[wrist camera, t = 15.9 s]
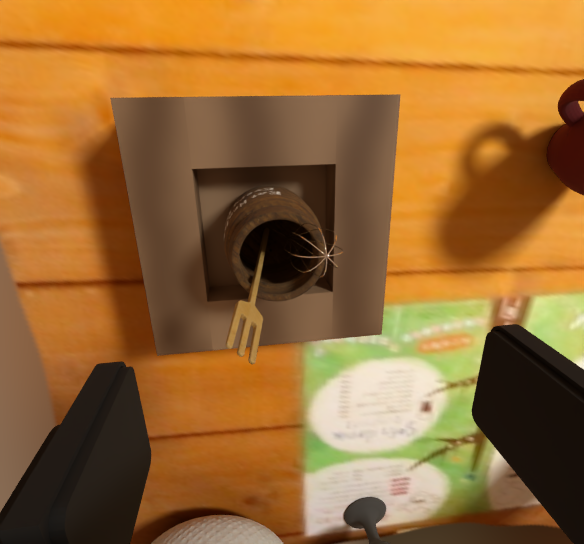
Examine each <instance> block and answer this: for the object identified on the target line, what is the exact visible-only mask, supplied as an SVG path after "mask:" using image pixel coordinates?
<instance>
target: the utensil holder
mask: <svg viewBox="0 0 584 544" xmlns="http://www.w3.org/2000/svg"><path fill="white" fill-rule="evenodd" d="M322 229H326V228H321V226H320V223H319V221H318V219H317V217H316V216H315V214H314V213H313V211H312V210H311V209H310V207H309V206H308V205H307V204H306V203H305V202H304V201H303V200H302V199H301V198H300V197H299V196H298V195H296V194H295V193H294V192H292V191H290V190H288V189H286V188H284V187H280V186H275V185H263V186H258V187H254V188H252V189H250V190H248V191H246V192H245V193H243V194H242V195H241V196H240V197H238V198H237V200H236V201H235V202H234V203H233V205H232V206H231V208H230V210H229V212H228V215H227V218H226V222H225V229H224V250H225V255H226V258H227V261H228V263H229V265H230V267H231V269H232V272H233V274H234V276H235V278H236V279H237V281H238V282H239V284H240V285H241V286H242V287H243V288H244V289H245V290H246V291H247V292H249V293H250V294H249V298H248V302H246V301H242V300H240V301H238V302H237V303H236V304H235V308H234V312H233V316H232V320H231V324H230V328H229V332H228V336H227V340H226V347H227V348H228V349H231V348H232V347H233V343H234V340H235V336H236V332H237V328H238V325H239V321H240V318H241V319H242V320H243V326H242V331H241V336H240V341H239V346H238V351H237V354H238V355H239V356H240V357H242V356H244V353H245V348H246V344H247V339H248V335H249V330H250V326H252V327H253V335H252V341H251V347H250V354H249V363H251V364H254V363H255V361H256V356H257V350H258V345H259V339H260V334H261V328H262V323H263V317H262V315H261V314H260V312H259V311H258V310H257V308H256V306H255V301H256V297H257V298H260V299H263V300H267V301H286V300H291V299H294V298H296V297H298V296H300V295H302V294H304V293H305V292H307V291H308V290H309V289H310V288H311V287H312V286H313V285H314V284H315V283H316V282H317V280H318V279H319V277H323V276H324V274H325V272H326V268H327V264H329V263H328V262H327V258H328V259H329V260H330V261H332V260H331V259H330V258H329V256H335V255H339V254H341V253H343V249H341V248H339V247H337V246H335V243H336V239H337V235H336V233H335V232H334V231H331V230H329V229H326V230H329V231H331V232H333V233H335V235H336V239H335V243H334V245H332V244H329V243H325V239H324V236H323V234H322ZM326 244H329V245H332V246H333V247H334V246H335V247H337V248H339V249H341V250H342V252H341V253H338V254H334V255H329V253H330V252H331V250H332V249H333V247H332V248H331V250H330V251H329V253H328V254H327V249H326ZM326 256H327V257H326ZM325 259H326V261H325ZM325 262H326V268H325V272H324V274H323V275H322V276H320V275H321V273H322V271H323V268H324V265H325ZM332 262H333V261H332ZM333 263H334V262H333ZM334 264H335V263H334ZM329 265H331V264H329ZM331 266H333V265H331ZM335 266H336V267H335ZM335 266H333V267H335V268H338V266H337V265H336V264H335Z"/></svg>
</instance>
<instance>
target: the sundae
mask: <svg viewBox="0 0 584 544" xmlns="http://www.w3.org/2000/svg"><path fill="white" fill-rule="evenodd" d="M385 512H386V506H385V504H384V502H383V501H381V500H380V499H378V498H374V497H366V498H362V499H359V500H357V501H355V502H354V503H352V504H351V505H350V506H349V507H348V508H347V510H346V512H345V515H344V519H345V521H346V523H347V524H348V525H350V526H352V527H354V528H359V529H361V528H364V529H365V531H366V534H367V536H368V540H369V544H389V543H388V542H385V541H381V540H380V538H379V535H378V533H377V529H376V523H378V522H379V521H380V520H381V519H382V518H383V517H384V515H385Z"/></svg>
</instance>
